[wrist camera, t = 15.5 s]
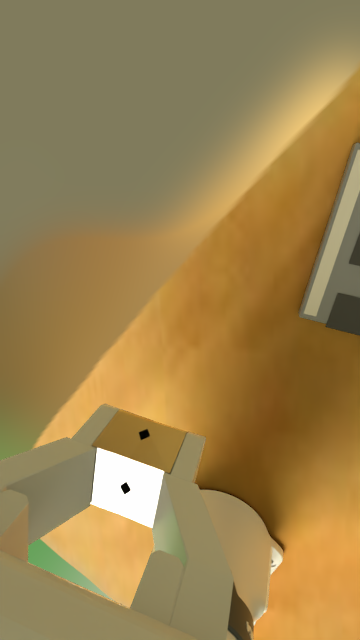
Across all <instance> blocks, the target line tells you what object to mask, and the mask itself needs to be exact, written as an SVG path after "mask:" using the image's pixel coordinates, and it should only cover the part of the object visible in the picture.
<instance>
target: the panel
mask: <svg viewBox="0 0 360 640" xmlns="http://www.w3.org/2000/svg"><path fill="white" fill-rule="evenodd" d="M298 313H299V317H301V318H305V319H309V320H313V321H317V322H321V323H325V324H326V327H328V328H332V329H336V330H340V331H344V332H348V333H352V334H356V335H360V143H355V144H354V145H353V146H352V150H351V153H350V156H349V159H348V162H347V165H346V168H345V171H344V174H343V177H342V180H341V183H340V186H339V189H338V193H337V196H336V199H335V202H334V205H333V208H332V211H331V214H330V217H329V220H328V223H327V226H326V229H325V232H324V236H323V239H322V242H321V245H320V248H319V251H318V254H317V257H316V260H315V263H314V266H313V269H312V272H311V275H310V279H309V282H308V285H307V288H306V291H305V294H304V297H303V300H302V303H301V306H300V309H299V312H298Z"/></svg>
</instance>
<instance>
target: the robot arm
mask: <svg viewBox="0 0 360 640" xmlns="http://www.w3.org/2000/svg"><path fill="white" fill-rule="evenodd" d="M205 441H206V437H204V436H201V435H198V434H194V433H191V432H186V431H183V430H180V429H177V428H174V427H171V426H168V425H165V424H162V423H159V422H155V421H153V420H150V419H147V418H144V417H142V416H139V415H136V414H133V413H131V412H128V411H125V410H122V409H121V410H120V409H119V408H116V407H113V406H110V405H107V404H103V405H101V406H100V407H99V408H98V409H97V410H96V411H95V413H94V414H93V415H92V416H91V417H90V418H89V419H88V420H87V422H86V423H85V424H84V425H83V426H82V427H81V428H80V430H79V431H78V432H77V433H76V434H75V435H74V436H73V438H72V439H70V438H67V437H66V438H63V439H60V440H57V441H54V442H52V443H49V444H46V445H43V446H40V447H37V448H34V449H32V450H29V451H26V452H23V453H20V454H17V455H15V456H12V457H9V458H6V459H3V460H0V640H254V638H253V629H254V625H255V623H256V620H258V619H259V618H260V617H261V616H262V615H263V613H264V612H266V611H267V607H268V598H269V585H270V575H271V574H272V573H273V572H274V571H275V569H276V568H277V567H278V566H279V565H280V563H281V562H282V561H283V550H282V548H281V547H280V546H279V545H278V544H277V543H276V542H275V541H274V540H273V539H272V538H271V537H270V535H269V533H268V531H267V528H266V526H265V524H264V522H263V521H262V519H261V518H260V516H259V515H258V514H257V513H256V512H255V511H254V510H253V509H252V508H251V507H250V506H249V505H247V504H246V503H244V502H243V501H241V500H240V499H238V498H236V497H234V496H231V495H229V494H226V493H223V492H219V491H214V490H200V489H199V487H198V485H197V484H195V480H196V476H197V472H198V469H199V465H200V461H201V457H202V453H203V449H204V445H205ZM90 504H93V505H96V506H99V507H102V508H104V509H107V510H110V511H113V512H115V513H118V514H121V515H123V516H126V517H128V518H130V519H133V520H135V521H137V522H140V523H142V524H144V525H147V526H149V527H151V528H152V533H153V539H154V547H153V550H152V553H151V555H150V558H149V560H148V563H147V566H146V568H145V571H144V573H143V576H142V578H141V581H140V584H139V586H138V589H137V591H136V594H135V597H134V599H133V602H132V604H131V607H130V608H128V607H126V606H124V605H122V604H119V603H117V602H115V601H113V600H110V599H108V598H106V597H104V596H102V595H99V594H97V593H95V592H93V591H90V590H88V589H86V588H84V587H81V586H79V585H77V584H75V583H73V582H70V581H68V580H66V579H64V578H61V577H59V576H57V575H55V574H52V573H50V572H48V571H46V570H44V569H41V568H39V567H37V566H35V565H32V564H30V563H28V545H30V544H31V543H33V542H34V541H36V540H38V539H39V538H41V537H42V536H44V535H45V534H47V533H48V532H50V531H52V530H53V529H55V528H56V527H58V526H59V525H61V524H62V523H64V522H66V521H67V520H69V519H70V518H72V517H73V516H75V515H76V514H78V513H80V512H81V511H83V510H84V509H86V508H87V507H89V506H90Z"/></svg>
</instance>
